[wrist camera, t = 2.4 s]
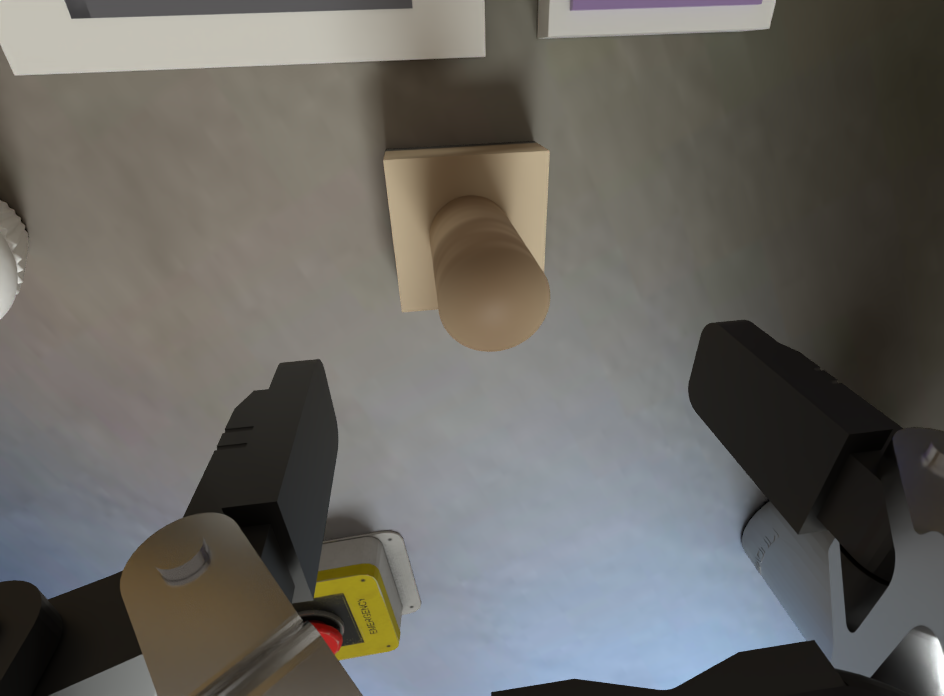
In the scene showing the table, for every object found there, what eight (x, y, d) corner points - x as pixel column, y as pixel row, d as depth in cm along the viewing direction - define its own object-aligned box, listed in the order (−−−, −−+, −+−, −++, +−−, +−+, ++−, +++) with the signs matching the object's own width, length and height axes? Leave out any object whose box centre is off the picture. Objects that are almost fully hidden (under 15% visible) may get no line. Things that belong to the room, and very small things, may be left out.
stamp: (533, 140, 19) (609, 187, 12) (529, 277, 23) (588, 380, 15) (385, 148, 19) (372, 202, 12) (402, 287, 22) (400, 398, 15)
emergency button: (425, 665, 32) (199, 707, 31) (423, 602, 36) (221, 638, 35) (399, 584, 27) (131, 631, 26) (400, 521, 31) (165, 561, 30)
